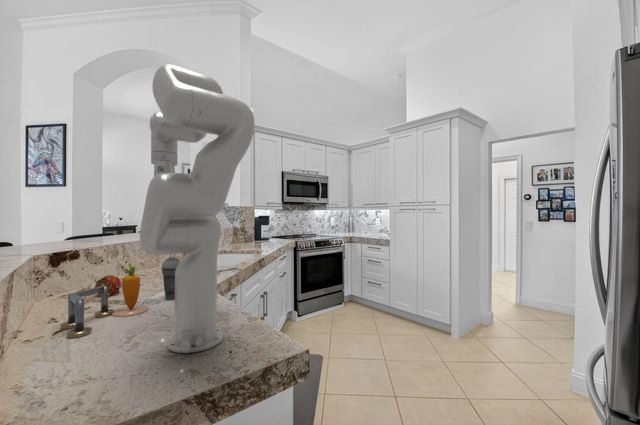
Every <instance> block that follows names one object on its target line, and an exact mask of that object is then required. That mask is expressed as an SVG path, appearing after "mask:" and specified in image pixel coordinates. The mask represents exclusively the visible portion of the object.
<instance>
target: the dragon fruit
mask: <svg viewBox="0 0 640 425" xmlns="http://www.w3.org/2000/svg"><path fill="white" fill-rule="evenodd" d="M104 285H107V286H108V294H111V295H112V294H116V293H117V294H118V293H119V292H120V287H121V286H122V282H121V279H120V278H119V277H118V276H115V275H113V274H108V275H104V276H103V277H101V278H100V279H98V280H97V281H95V285H94V287H93V288H96V287H100V286H104ZM97 294H98V295H100V294H101V292H98V293H97Z"/></svg>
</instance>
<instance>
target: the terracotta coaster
mask: <svg viewBox="0 0 640 425" xmlns="http://www.w3.org/2000/svg"><path fill="white" fill-rule="evenodd" d="M149 309H150V308H149V305H143V304H142V305H141V304H135V306H134V308H133V309H132V310H130V309H129V308H128V306H123V307H121V308H117V309H114V312H113V313H112V315H111V316H112V317H117V318H125V317H126V318H127V317H133V316H137V315H142V314H144V313H146V312H148V311H149Z"/></svg>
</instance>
